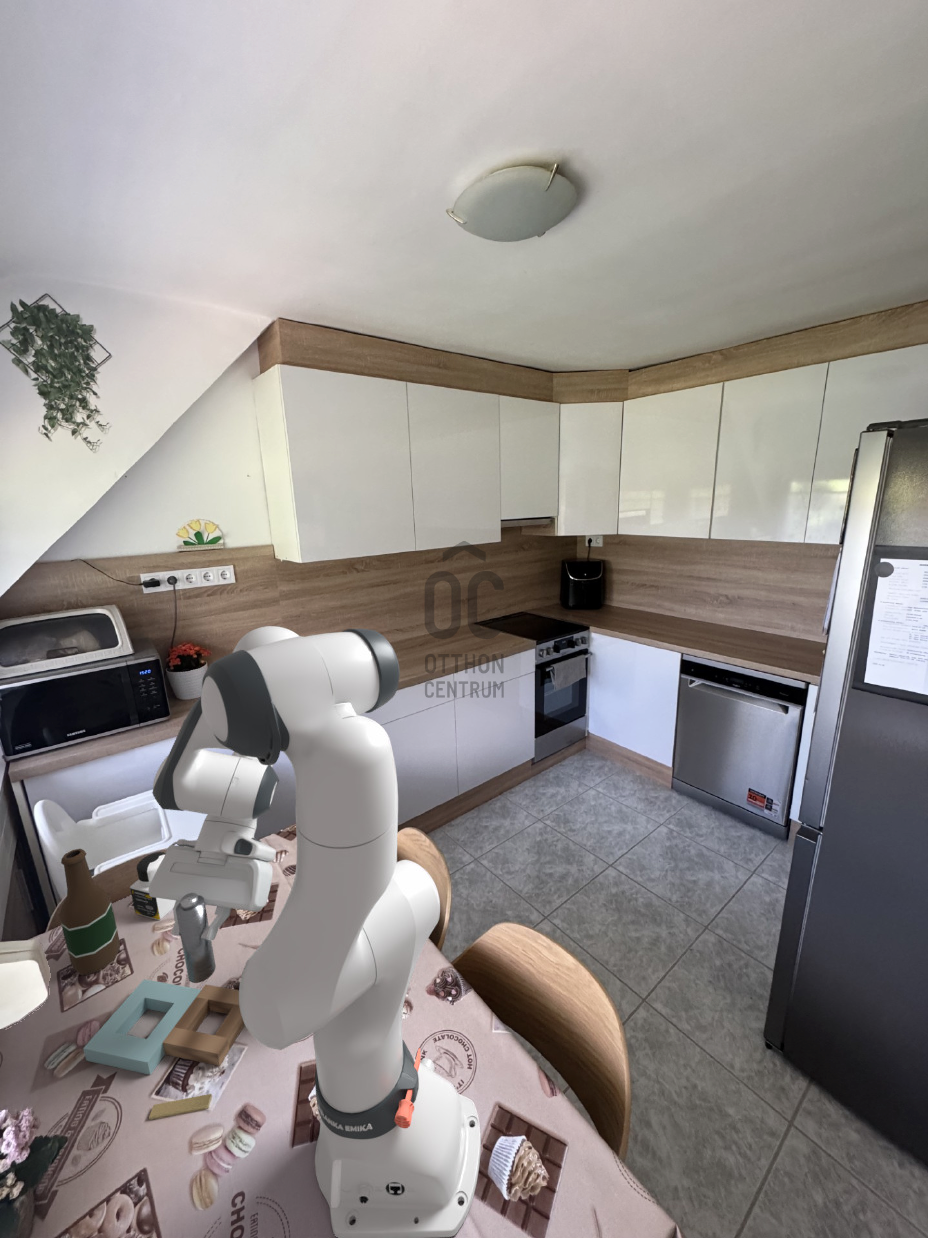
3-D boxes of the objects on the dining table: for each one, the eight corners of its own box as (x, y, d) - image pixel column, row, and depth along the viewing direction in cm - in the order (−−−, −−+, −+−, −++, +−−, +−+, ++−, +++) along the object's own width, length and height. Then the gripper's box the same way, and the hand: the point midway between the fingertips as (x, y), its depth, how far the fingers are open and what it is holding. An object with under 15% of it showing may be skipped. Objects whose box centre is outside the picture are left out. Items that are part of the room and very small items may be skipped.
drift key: (212, 1099, 74) (211, 1094, 74) (208, 1110, 73) (207, 1105, 72) (154, 1110, 73) (153, 1105, 73) (150, 1122, 71) (149, 1117, 71)
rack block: (203, 1001, 89) (201, 989, 88) (150, 1075, 77) (147, 1062, 76) (146, 990, 91) (144, 979, 90) (86, 1060, 79) (83, 1048, 79)
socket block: (257, 1004, 88) (255, 993, 87) (219, 1066, 78) (217, 1054, 77) (207, 995, 89) (205, 984, 89) (165, 1054, 80) (162, 1042, 79)
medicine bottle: (134, 914, 108) (124, 867, 106) (162, 890, 115) (153, 845, 112) (159, 921, 106) (150, 873, 103) (186, 896, 113) (178, 851, 110)
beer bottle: (130, 943, 101) (108, 840, 96) (99, 978, 93) (73, 869, 88) (95, 941, 102) (71, 839, 96) (62, 976, 94) (34, 867, 89)
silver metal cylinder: (221, 962, 83) (208, 890, 80) (204, 985, 79) (190, 910, 76) (200, 959, 83) (187, 887, 80) (182, 981, 80) (168, 907, 76)
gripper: (160, 835, 85) (123, 928, 78) (267, 847, 81) (238, 947, 74) (183, 840, 91) (150, 929, 83) (284, 852, 87) (259, 946, 80)
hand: (192, 937), depth 79 cm, fingers closed on silver metal cylinder, 4 cm apart
